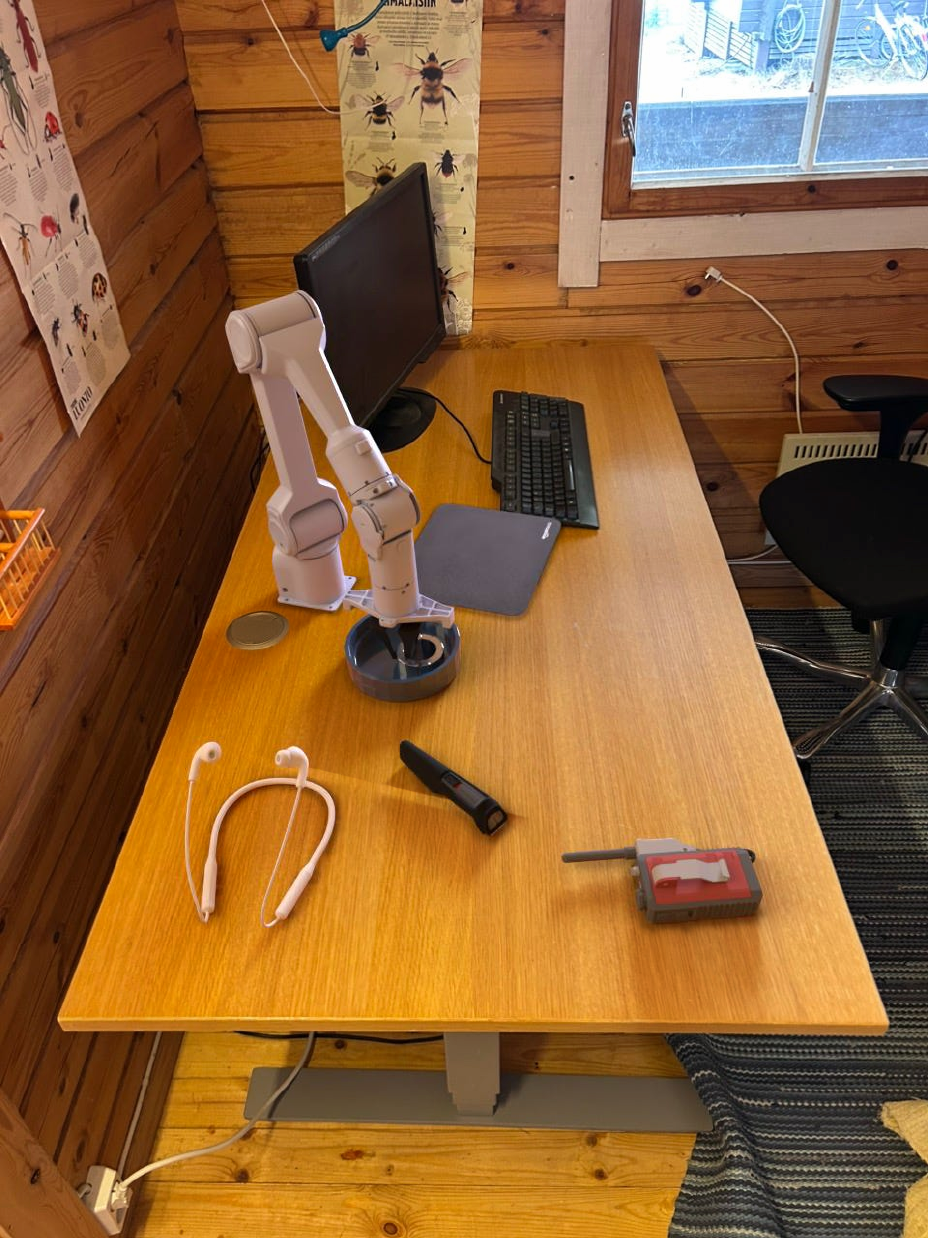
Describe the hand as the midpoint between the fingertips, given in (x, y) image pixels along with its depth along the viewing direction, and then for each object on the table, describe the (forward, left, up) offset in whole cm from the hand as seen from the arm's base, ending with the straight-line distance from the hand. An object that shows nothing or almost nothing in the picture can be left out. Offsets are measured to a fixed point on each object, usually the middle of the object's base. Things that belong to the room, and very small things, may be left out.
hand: (404, 655), depth 115 cm
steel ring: (+2, 0, -1) cm, 3 cm away
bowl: (0, 0, -1) cm, 1 cm away
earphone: (-4, -32, -2) cm, 32 cm away
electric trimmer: (+13, -19, -2) cm, 23 cm away
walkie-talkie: (+38, -24, -2) cm, 45 cm away
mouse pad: (+3, +25, -1) cm, 25 cm away
